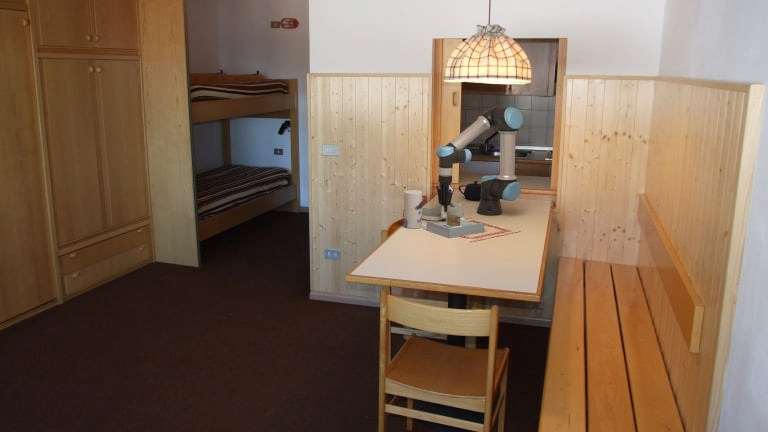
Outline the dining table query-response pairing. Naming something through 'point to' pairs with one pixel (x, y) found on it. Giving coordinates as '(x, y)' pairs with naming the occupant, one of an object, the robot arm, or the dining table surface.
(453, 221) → the block
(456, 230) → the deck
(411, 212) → the container
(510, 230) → the dining table surface
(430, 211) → the running shoe
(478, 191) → the teapot
